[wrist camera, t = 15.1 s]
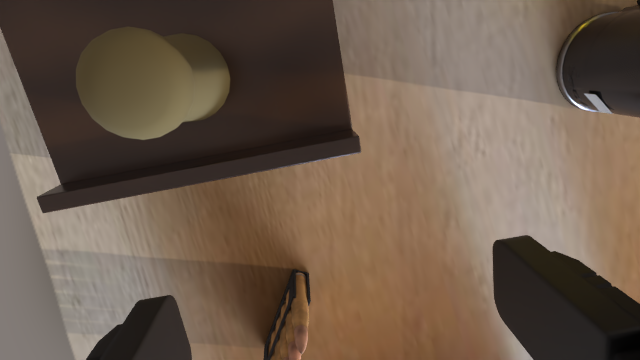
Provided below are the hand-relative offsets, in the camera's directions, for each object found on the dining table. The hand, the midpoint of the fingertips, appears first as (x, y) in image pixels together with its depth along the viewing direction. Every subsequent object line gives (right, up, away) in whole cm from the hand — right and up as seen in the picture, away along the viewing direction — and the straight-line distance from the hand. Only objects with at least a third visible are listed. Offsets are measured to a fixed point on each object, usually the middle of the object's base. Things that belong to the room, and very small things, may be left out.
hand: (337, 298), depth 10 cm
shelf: (-11, +13, +27) cm, 32 cm away
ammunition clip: (-4, -12, +35) cm, 38 cm away
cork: (-10, +10, +18) cm, 23 cm away
